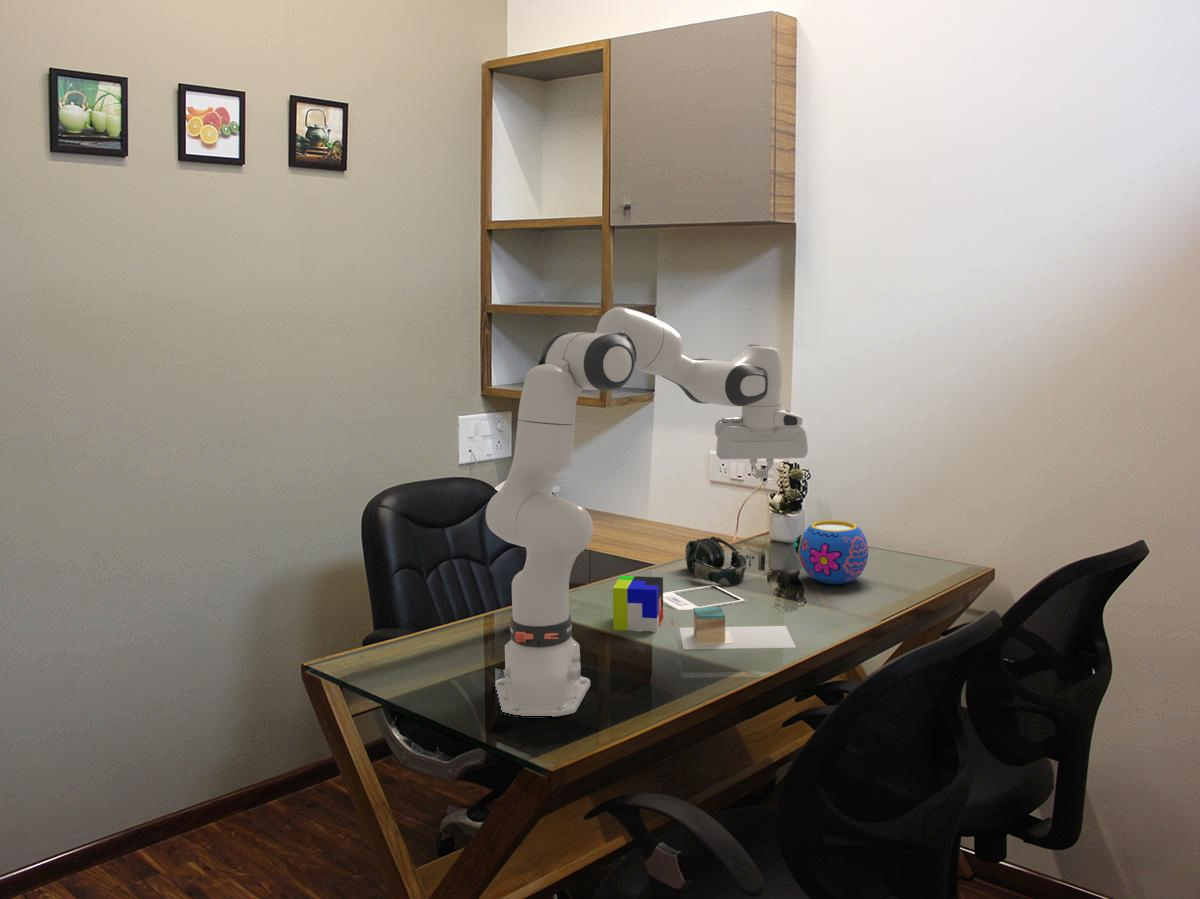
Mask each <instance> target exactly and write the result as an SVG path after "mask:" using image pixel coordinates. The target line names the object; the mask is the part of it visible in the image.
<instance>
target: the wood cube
mask: <svg viewBox="0 0 1200 899" xmlns="http://www.w3.org/2000/svg"><path fill="white" fill-rule="evenodd" d="M693 627H694V636H695V638H696V640H697V643H714V642H725V627H726V614H725V613H724V610H723V609H722V606H719V607H703V608H694V610H693Z"/></svg>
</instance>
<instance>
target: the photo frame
mask: <svg viewBox="0 0 1200 899" xmlns="http://www.w3.org/2000/svg"><path fill="white" fill-rule="evenodd" d="M713 587H714V588H716V589H718V590H720V591H722V592H724V593H726V594H728V595H730V596H732V597H734V598H737V599H738V600H732V601H727V602H726V601H725V602H720V603H714V604H709V605H701V606H698V605H696V604H694V603H692V602H691V601H689V600H687V599H685V598H684V597H682V596H680V595H678V594H684V593H688V592H687V591H690V592H693V591H692V590H696V591H699V590H698V589H702V590H707V589H706V588H708V589H711V588H713ZM683 592H684V593H683ZM676 593H677V594H676ZM663 602H664V603H665V605H666V604H667V605H666V606H668V607H669V606H670V607H669V608H671V607H672V608H671V609H673V610H674V609H675V610H674V611H683V610H685V611H686V610H691V611H692V610H693V611H694V608H703V607H717V606H719V607H723V605H725V606H730V604H731V605H735V603H737V604H741V602H742V603H746V599H744V598H741V597H740V596H738V595H736V594H734V593H731V592H729V591H728V590H726V589H724V588H722V587H719V586H718V585H716V584H712V585H711V584H710V585H705V586H698V587H693V588H685V589H678V590H675V591H667V592H663ZM664 603H663V604H664Z"/></svg>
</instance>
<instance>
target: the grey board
mask: <svg viewBox="0 0 1200 899" xmlns="http://www.w3.org/2000/svg"><path fill="white" fill-rule="evenodd" d="M678 628H679V634H680V639H681V644H682V649H683V650H734V649H735V650H738V649H741V650H742V649H748V650H749V649H793V648H794V649H796V648H797V646H796V645H795V642H794V641H793V640H794V639H793V638H792V635H791V634H790V632H789V630H788V628H787V626H786V625H768V626H767V625H763V626H761V625H760V626H759V625H758V626H753V625H752V626H725V642H714V643H697V640H696V638H695V636H694V626H693V627H678Z"/></svg>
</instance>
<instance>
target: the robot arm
mask: <svg viewBox="0 0 1200 899" xmlns="http://www.w3.org/2000/svg"><path fill="white" fill-rule="evenodd" d="M683 347H684V345H683V339H682V335H681V334H680V332H678V331H677V330H676V329H675V328H674V327H672V326H671V325H669V324H668V323H666V322H664V321H662V320H661V319H659V318H656V317H654V316H652V315H650V314H647V313H645V312H641V311H638V310H636V309H631V308H627V307H621V306H619V307H617V306H616V307H613V308H610V309H608V311H606V312H605V313H604V314H603V315H602V317H601V318H600V319H599V322H598V324H597V328H596V330H595V332H590V331H588V332H587V331H586V332H585V331H582V332H569V331H568V332H561V333H559V334H557V335H554V336H552V337H551V338H550V339H548V341H547V342H546V343H545V344H544V347H543V349H542V351H541V354H540V359H539V360H538V363H537V365H536V366H535V367H532V368H531V369H530V370H529V371H528V372H527V374H526V376H525V379H524V382H523V387H522V390H521V395H520V400H519V405H518V414H517V426H516V434H515V443H514V444H515V446H514V452H513V460H512V463H511V465H510V469H509V472H508V474H507V477H506V480H505V481H504V483H503V485H502V487H501V488H500V489H499V490H498V492H496V493H495V494H493V496H491V498H490V500H489V501H488V504H487V506H486V509H485V522H486V525H487V527H488V529H489V530H490V531H491V532H492V533H493V534H494V535H495V536H497V537H499V539H502V540H503V541H505V542H507V543H509V544H512V545H515V546H519V547H522V548H525V551H526V557H525V558H526V559H525V562H524V566H523V569H522V570H519V572H517V573H516V574H515V575H514V577H513V578H512V581H511V604H512V605H511V606H512V616H511V617H510V624H509V625H510V626H509V628H510V629H509V631H510V640H509V641H508V642H506V644H504V661H505V662H504V665H505V666H504V667H505V668H503V670H502V675H503V677H502V678H500V679H497V680H496V681H495V686H494V687H496V688H495V691H496V690H497V692H496V695H497V694H498V696H497V699H498V698H499V700H498V703H500V704H499V706H501V708H500V711H501V710H502V712H505V713H509V714H513V715H521V716H552V717H561V716H566V715H571V714H575V713H576V712H577V711H578V708H579V707H580V705H581V703H582V701H583V699H584V698H585V696H586V693H587V692H588V690H589V688H590V687H591V680H590V678H588V677H585V676H582V670H581V669H582V668H581V652H580V643H578V642H577V641H576V640H575V639H574V638H573V637H572V634H573V633H572V631H573V630H572V628H573V624H572V616H571V615H570V614H569V613H570V612H569V609H570V608H569V606H570V604H569V603H570V602H569V597H570V595H569V592H570V591H569V590H570V588H569V587H570V586H569V585H570V578H571V577H570V576H571V572H572V568H573V566H574V563H575V561H576V559H577V557H578V556H579V555H580V554H581V553H582V552H584V551H585V550H586V548H587V547H588V546H589V544H590V542H591V539H592V536H593V533H594V532H593V531H594V524H593V519H592V516H591V514H590V512H589V511H588V510H587V509H585V507H582V506H581V505H579V504H577V503H576V502H574V501H572V500H570V499H568V498H564V497H559V496H555V495H553V494H552V493H553V490H554V486H555V483H556V481H557V479H558V477H559V476H560V475H561V474H562V473H563V472H565V471H567V470H568V468H569V467H570V465H572V464H571V463H572V462H573V461H572V460H573V453H574V451H573V450H574V441H575V440H574V439H575V438H574V437H575V430H576V429H575V426H576V425H575V424H576V413H577V412H576V410H577V408H576V406H577V405H576V404H577V402H578V398H579V396H580V394H581V393H582V391H583V390H587V391H603V392H608V391H614V390H618V389H620V388H622V387H623V386H625V385H626V384H627V383H628V381H630V379H631V376H632V375H633V373H634V370H638V371H639V372H642V373H646V374H649V375H653V376H659V377H662V378H663V379H666V380H668V381H669V382H672V383H673V384H675V385H677V386H679V388H680V389H681V390H682V391H683V393H685V395H686V397H688V398H689V399H690V400H691V401H693V402H694V403H696V404H713V405H719V406H725V407H726V406H729V407H737V408H739V407H741V417H722V418H721V419H719V420H717V421H716V422H715V425H714V434H715V436H716V437H717V439H716V448H715V449H716V450H715V454H716V456H717V457H718V459H719V460H749V463H750V465H751V467H752V469H753V470H754V478H755V479H769V471H770V470H771V468H772V467H773V465H774V460H775V459H804V458H805V457H806V456H807V455H808V440H807V438H808V437H807V433H806V431H805V429H804V428H803V427H802V425H803V417H802V416H801V415H800V414H798V413H796V412H794V411H790V410H787V409H783V402H782V397H781V390H782V386H783V368H782V367H783V366H782V360H781V359H782V358H781V355H780V352H779V350H778V349H777V348H776V347H774V346H771V345H765V344H763V345H762V344H757V343H756V344H747V345H745V347H744V350H743V351H742V352H741V353H740V354H739V355H737V357H735V358H733V359H731V360H730V361H725V360H715V359H709V358H702V357H701V358H693V359H692V358H690V357H688V356H686V355H684V354H683ZM761 459H762V460H765V462H766V463H767V464H766V466H764V467H765V468H764V469H758V468H757V465H756V464H757V463H758V460H761ZM502 712H501V713H502Z"/></svg>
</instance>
